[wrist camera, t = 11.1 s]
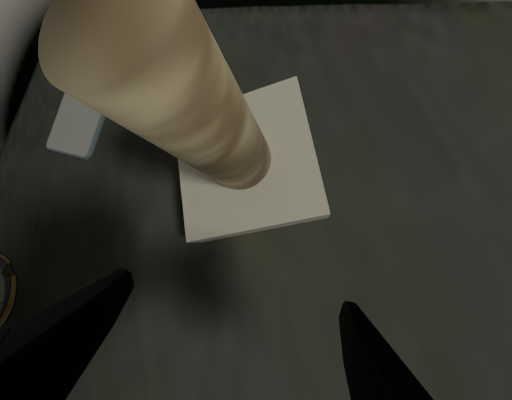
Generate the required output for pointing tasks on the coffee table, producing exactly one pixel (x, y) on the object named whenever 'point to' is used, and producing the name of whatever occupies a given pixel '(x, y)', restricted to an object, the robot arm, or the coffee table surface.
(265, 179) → the cream plinth
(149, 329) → the coffee table surface
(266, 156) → the birch pillar
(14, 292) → the apothecary jar
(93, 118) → the smartphone
